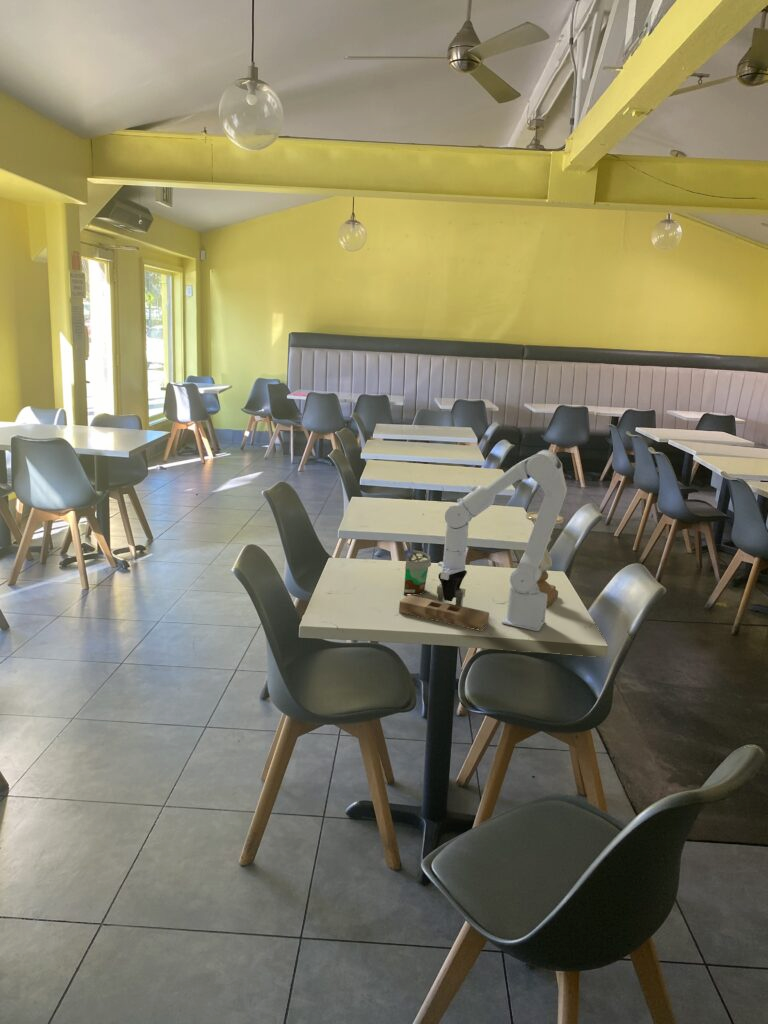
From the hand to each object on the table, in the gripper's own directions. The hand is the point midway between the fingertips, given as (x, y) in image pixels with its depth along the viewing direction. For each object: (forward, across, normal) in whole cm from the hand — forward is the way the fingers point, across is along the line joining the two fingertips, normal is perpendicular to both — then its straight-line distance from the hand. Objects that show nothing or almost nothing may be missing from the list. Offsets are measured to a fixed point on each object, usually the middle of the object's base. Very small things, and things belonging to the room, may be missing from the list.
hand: (450, 598), depth 192 cm
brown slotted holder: (+3, +8, +1) cm, 8 cm away
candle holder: (+3, -22, +18) cm, 28 cm away
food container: (+3, -8, -12) cm, 14 cm away
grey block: (+3, 0, 0) cm, 3 cm away
